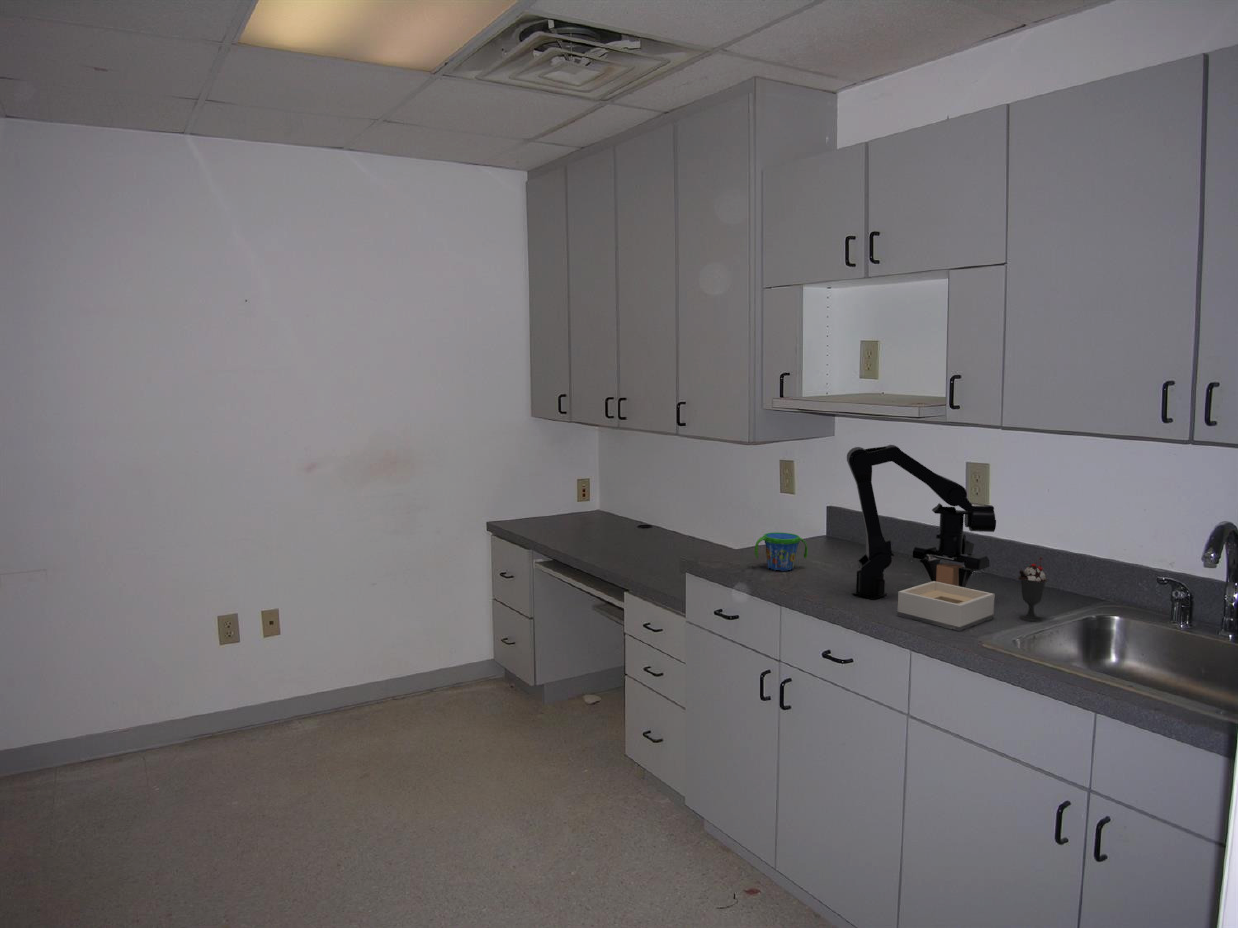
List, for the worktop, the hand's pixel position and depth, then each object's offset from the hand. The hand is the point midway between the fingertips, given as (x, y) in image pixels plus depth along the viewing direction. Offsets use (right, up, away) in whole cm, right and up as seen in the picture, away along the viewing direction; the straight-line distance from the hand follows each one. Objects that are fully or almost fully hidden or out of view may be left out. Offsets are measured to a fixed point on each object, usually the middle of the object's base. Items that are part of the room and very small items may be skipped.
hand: (948, 589), depth 226 cm
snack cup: (-38, +1, +32) cm, 50 cm away
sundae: (+13, -5, -17) cm, 22 cm away
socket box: (-7, -4, -16) cm, 18 cm away
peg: (0, -3, 0) cm, 3 cm away
